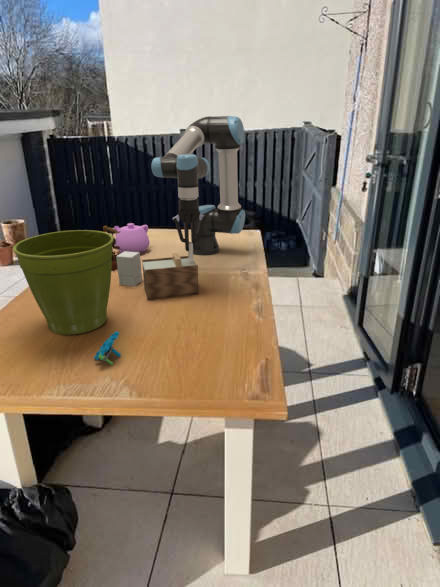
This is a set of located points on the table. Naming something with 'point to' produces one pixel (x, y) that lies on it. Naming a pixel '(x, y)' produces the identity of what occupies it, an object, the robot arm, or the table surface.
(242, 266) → the table surface
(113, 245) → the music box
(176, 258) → the lid
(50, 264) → the plant pot
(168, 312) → the table surface
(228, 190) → the robot arm
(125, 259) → the supplement box
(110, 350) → the blue angular piece
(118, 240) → the pink piggy bank
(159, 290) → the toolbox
